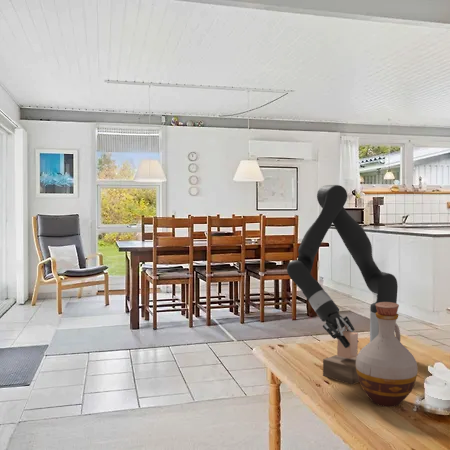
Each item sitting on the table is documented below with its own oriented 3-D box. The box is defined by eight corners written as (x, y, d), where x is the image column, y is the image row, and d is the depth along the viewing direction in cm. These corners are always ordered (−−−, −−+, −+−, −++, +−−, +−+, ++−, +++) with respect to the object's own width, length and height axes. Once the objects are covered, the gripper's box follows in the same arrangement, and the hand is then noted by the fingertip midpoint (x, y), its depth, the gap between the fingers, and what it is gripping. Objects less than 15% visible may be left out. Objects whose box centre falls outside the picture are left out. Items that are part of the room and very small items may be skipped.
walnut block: (342, 368, 178) (343, 352, 177) (371, 377, 169) (372, 360, 168) (323, 376, 170) (323, 359, 169) (352, 385, 161) (352, 367, 160)
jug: (371, 385, 160) (372, 295, 159) (426, 398, 149) (428, 302, 148) (345, 403, 145) (346, 304, 144) (404, 419, 134) (406, 312, 133)
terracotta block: (344, 352, 172) (345, 330, 172) (357, 355, 169) (357, 333, 169) (337, 355, 169) (337, 332, 169) (350, 358, 165) (350, 335, 165)
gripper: (318, 301, 169) (348, 342, 160) (340, 297, 179) (369, 335, 171) (306, 314, 172) (334, 355, 164) (328, 309, 183) (356, 347, 174)
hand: (352, 344), depth 167 cm, fingers closed on terracotta block, 5 cm apart
